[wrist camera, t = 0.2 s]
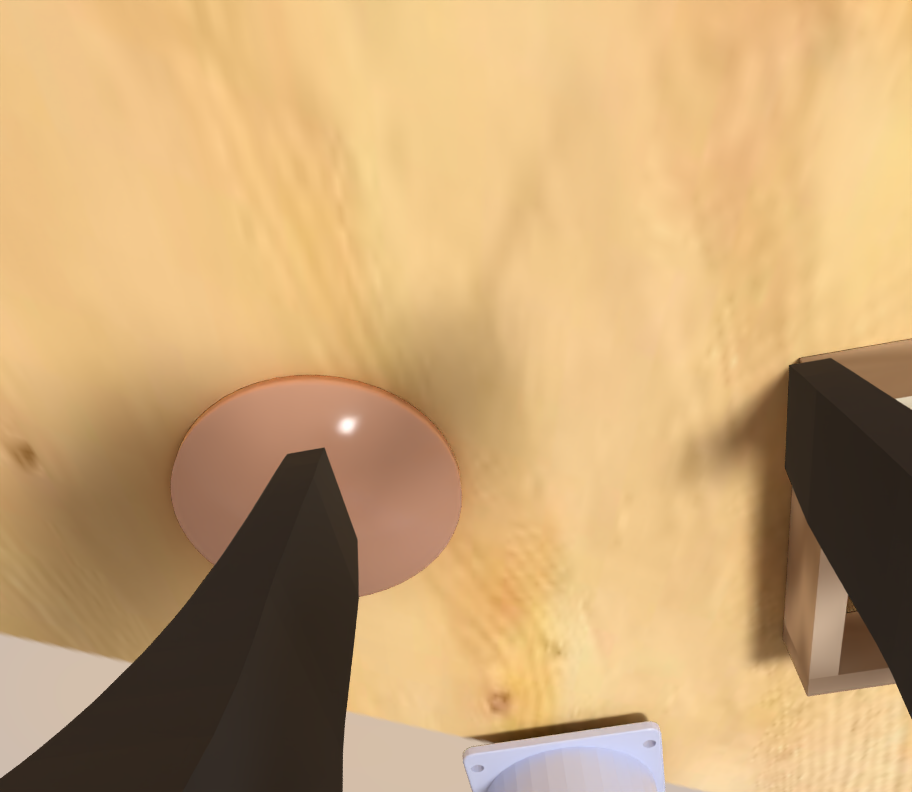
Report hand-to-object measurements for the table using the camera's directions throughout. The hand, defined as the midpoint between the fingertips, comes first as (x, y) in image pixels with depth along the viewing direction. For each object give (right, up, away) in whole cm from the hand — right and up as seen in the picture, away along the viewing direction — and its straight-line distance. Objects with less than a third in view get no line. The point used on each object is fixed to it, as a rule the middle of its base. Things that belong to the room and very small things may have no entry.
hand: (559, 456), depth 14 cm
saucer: (-6, -2, +14) cm, 15 cm away
